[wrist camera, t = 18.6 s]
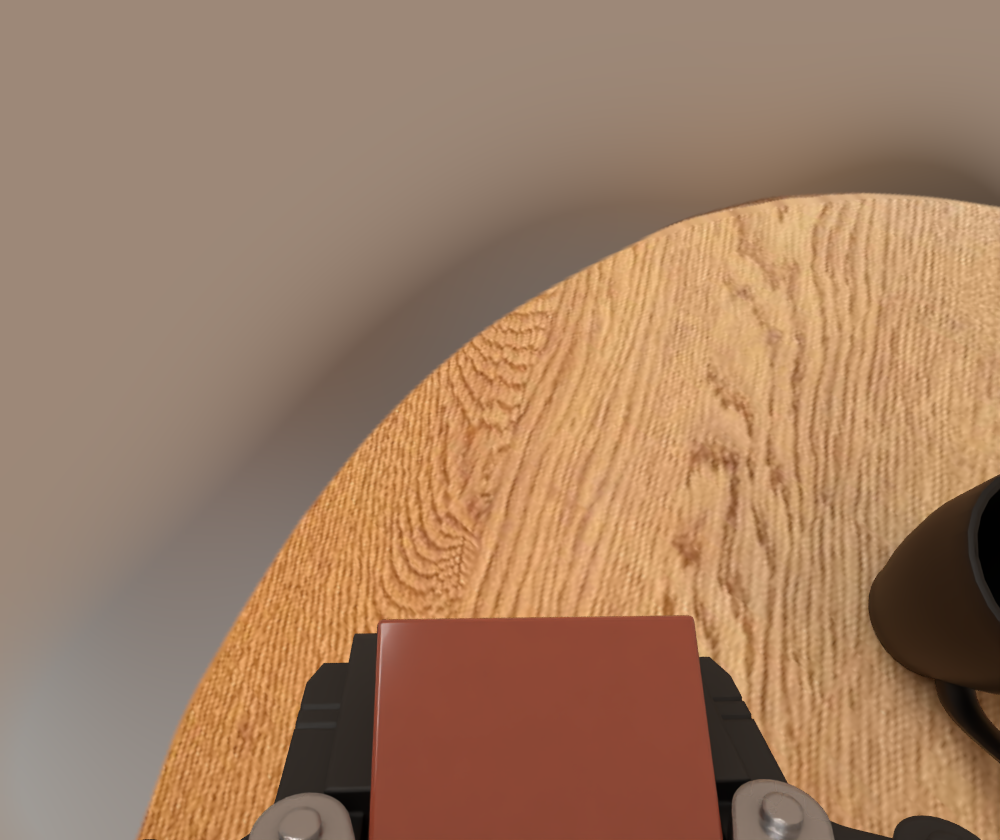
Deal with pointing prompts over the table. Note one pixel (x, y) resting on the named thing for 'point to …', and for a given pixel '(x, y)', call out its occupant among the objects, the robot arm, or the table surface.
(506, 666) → the block
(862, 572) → the table surface
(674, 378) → the table surface
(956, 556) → the mug
